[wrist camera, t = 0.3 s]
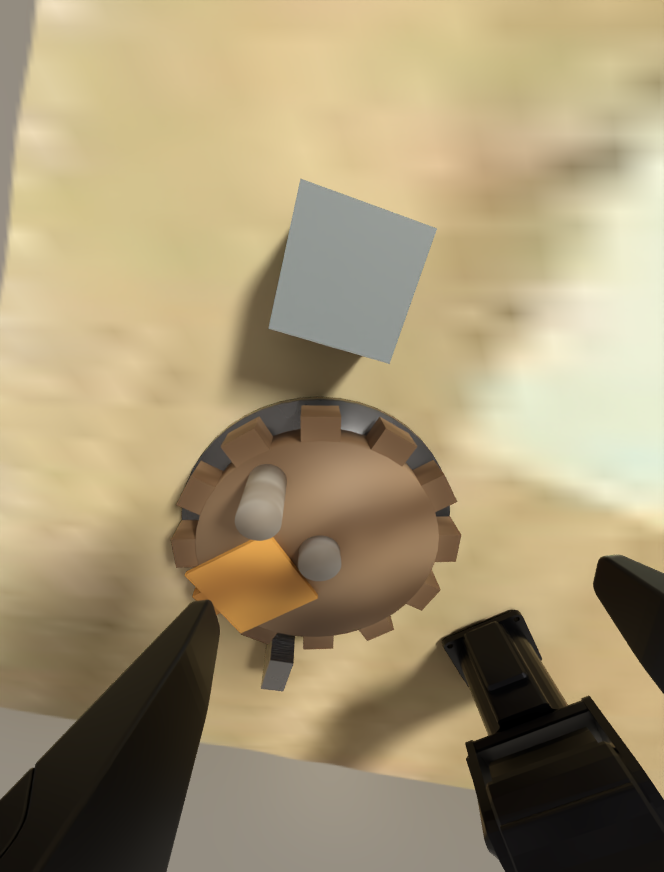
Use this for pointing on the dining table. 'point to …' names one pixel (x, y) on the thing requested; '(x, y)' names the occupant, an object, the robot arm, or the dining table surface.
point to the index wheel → (315, 529)
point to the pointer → (278, 662)
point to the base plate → (289, 418)
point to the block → (348, 273)
